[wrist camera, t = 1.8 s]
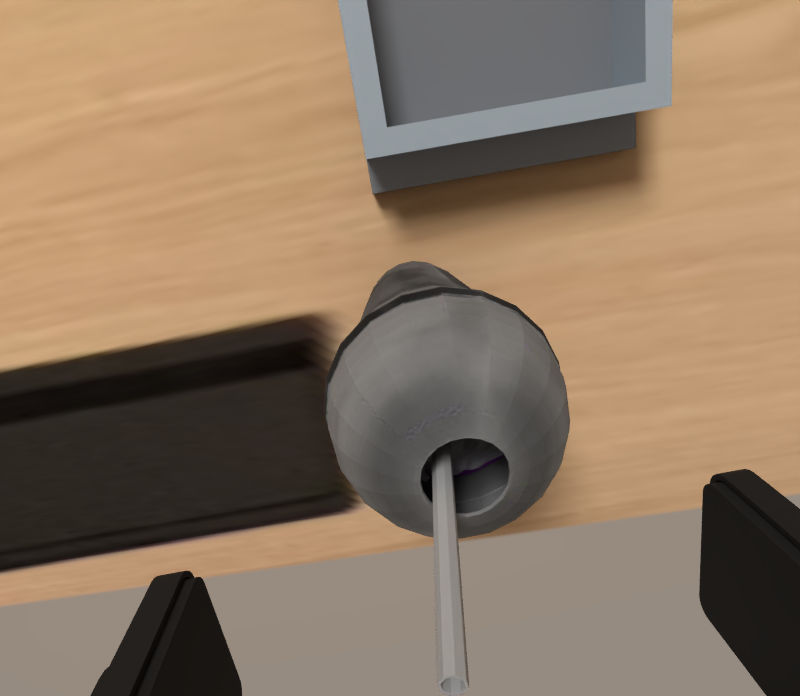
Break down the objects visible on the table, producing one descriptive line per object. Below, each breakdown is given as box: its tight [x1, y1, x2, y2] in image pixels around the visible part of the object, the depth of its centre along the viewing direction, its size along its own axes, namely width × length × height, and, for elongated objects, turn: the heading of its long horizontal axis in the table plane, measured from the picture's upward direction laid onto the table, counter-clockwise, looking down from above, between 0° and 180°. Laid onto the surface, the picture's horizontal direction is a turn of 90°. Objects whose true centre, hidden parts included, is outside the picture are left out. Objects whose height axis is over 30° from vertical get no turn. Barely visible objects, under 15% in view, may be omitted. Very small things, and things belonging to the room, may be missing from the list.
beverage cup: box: [324, 261, 570, 696], centre depth 18 cm, size 7×7×20 cm
